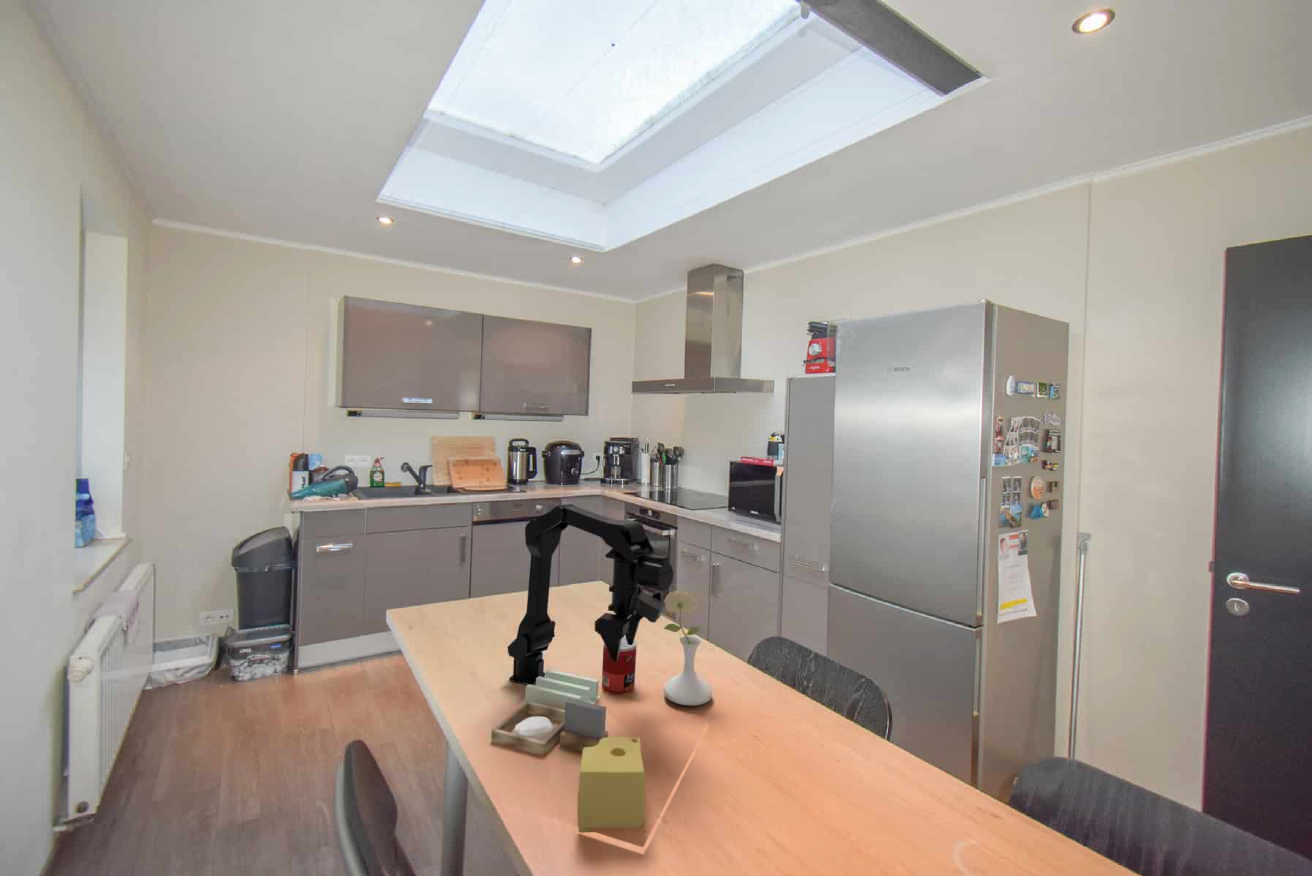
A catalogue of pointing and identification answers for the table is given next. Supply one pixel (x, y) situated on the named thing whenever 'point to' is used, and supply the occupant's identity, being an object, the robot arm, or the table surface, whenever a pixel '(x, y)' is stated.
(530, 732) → the garlic
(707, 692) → the flower in vase
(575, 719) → the plate
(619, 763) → the cheese
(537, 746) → the garlic trivet frame
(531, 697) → the dish rack
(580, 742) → the plate stand
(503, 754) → the table surface
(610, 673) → the canned food
